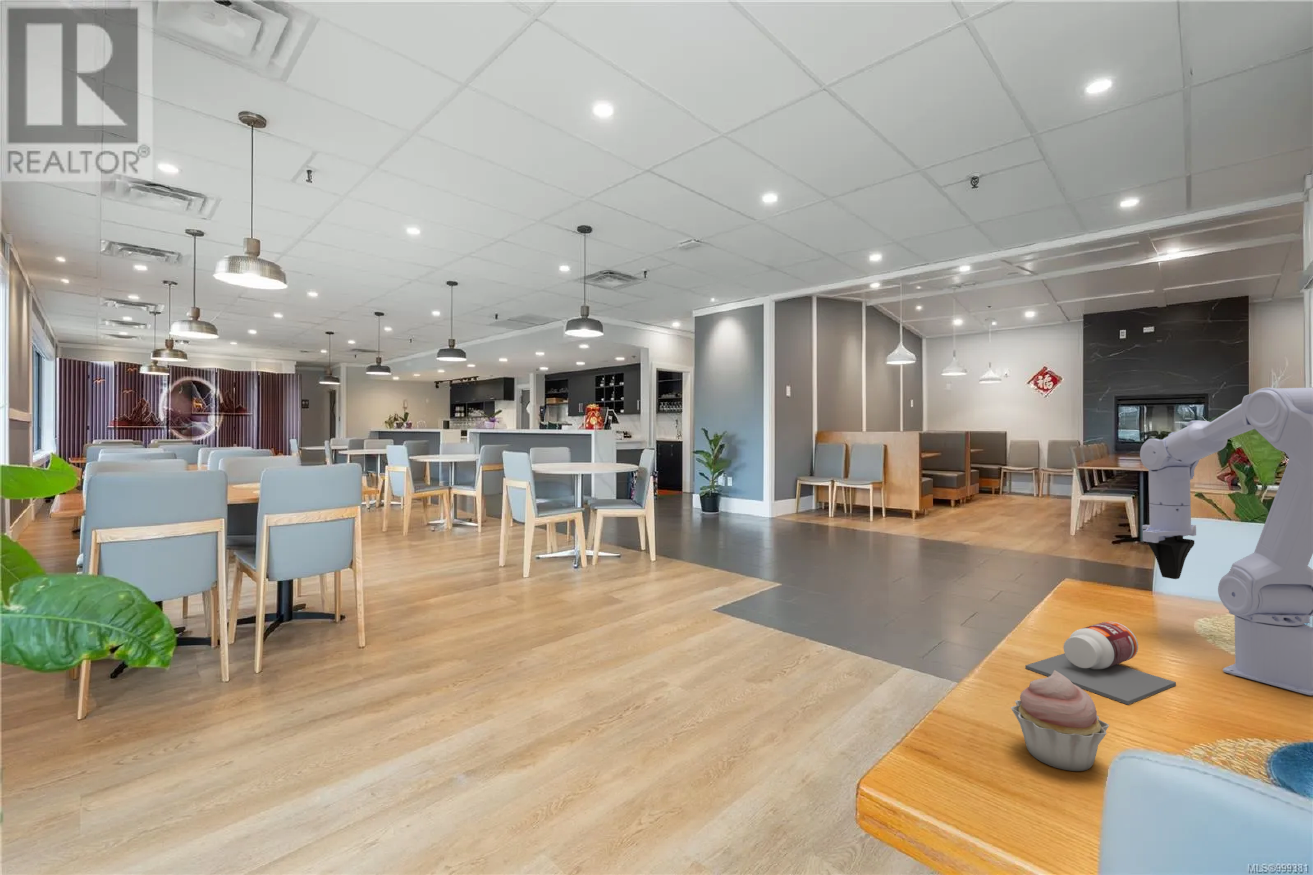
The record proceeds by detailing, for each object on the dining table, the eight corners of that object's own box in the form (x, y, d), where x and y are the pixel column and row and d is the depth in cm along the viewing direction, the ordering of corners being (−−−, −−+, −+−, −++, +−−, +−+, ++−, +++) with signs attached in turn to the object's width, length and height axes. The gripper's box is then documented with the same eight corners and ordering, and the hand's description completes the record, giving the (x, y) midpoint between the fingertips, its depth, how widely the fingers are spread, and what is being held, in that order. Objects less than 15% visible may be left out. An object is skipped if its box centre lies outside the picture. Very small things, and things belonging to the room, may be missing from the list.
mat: (1175, 685, 85) (1175, 682, 85) (1128, 704, 79) (1128, 701, 79) (1072, 653, 97) (1072, 650, 97) (1025, 668, 92) (1025, 665, 92)
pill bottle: (1133, 621, 91) (1096, 633, 86) (1145, 661, 90) (1108, 676, 85) (1090, 619, 97) (1053, 630, 92) (1101, 658, 96) (1064, 671, 91)
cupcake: (1067, 734, 72) (1065, 654, 72) (1131, 778, 62) (1130, 687, 62) (994, 736, 72) (993, 657, 71) (1048, 782, 62) (1046, 690, 62)
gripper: (1163, 499, 112) (1164, 568, 112) (1122, 504, 106) (1123, 577, 106) (1210, 503, 106) (1211, 576, 106) (1169, 508, 100) (1171, 586, 100)
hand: (1170, 577), depth 105 cm, fingers closed
